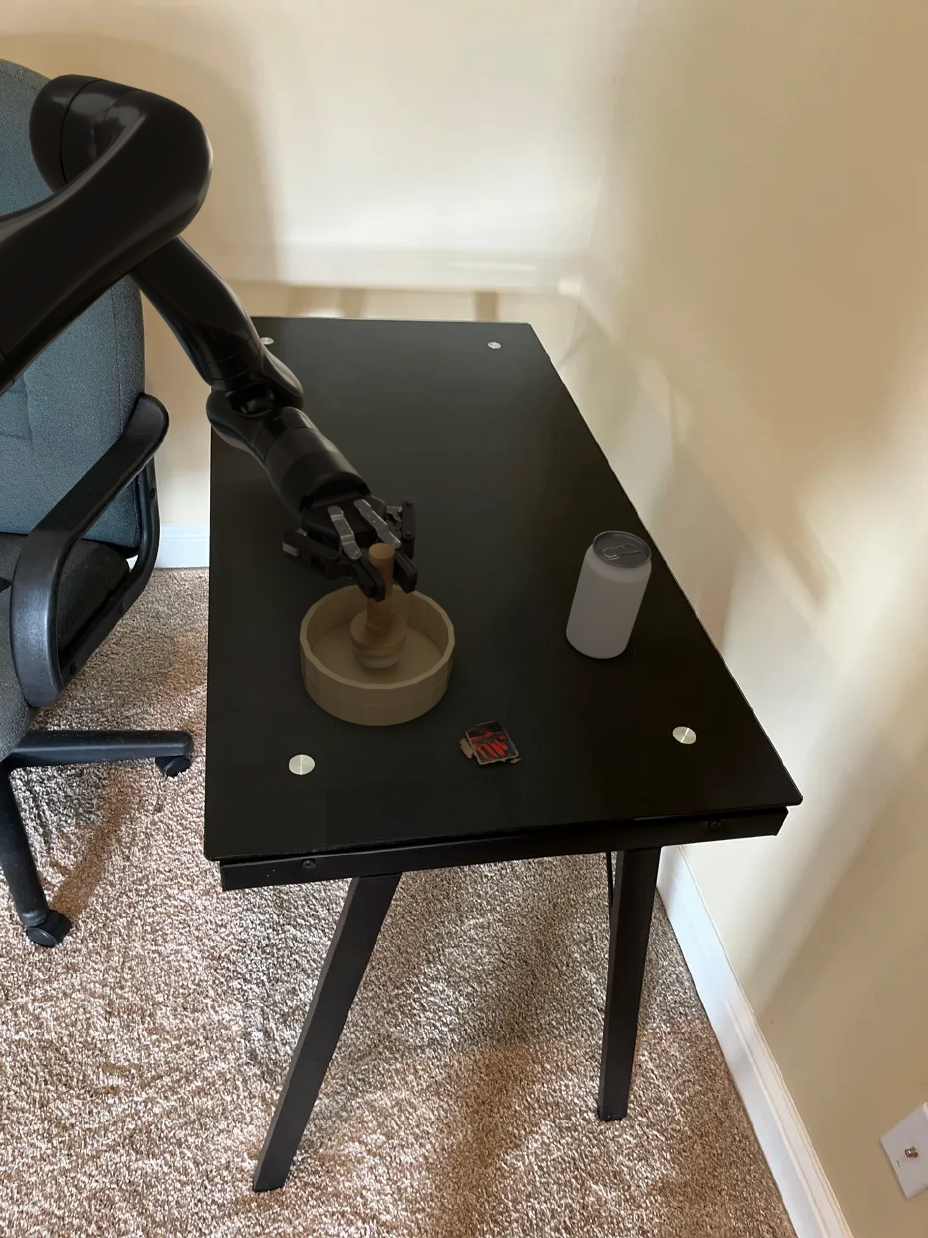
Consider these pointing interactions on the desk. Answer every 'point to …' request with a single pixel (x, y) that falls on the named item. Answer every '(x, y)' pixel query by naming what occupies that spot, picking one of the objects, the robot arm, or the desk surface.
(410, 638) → the bowl
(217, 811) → the desk surface
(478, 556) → the desk surface
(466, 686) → the desk surface
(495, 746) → the small printed card
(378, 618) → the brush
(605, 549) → the can
